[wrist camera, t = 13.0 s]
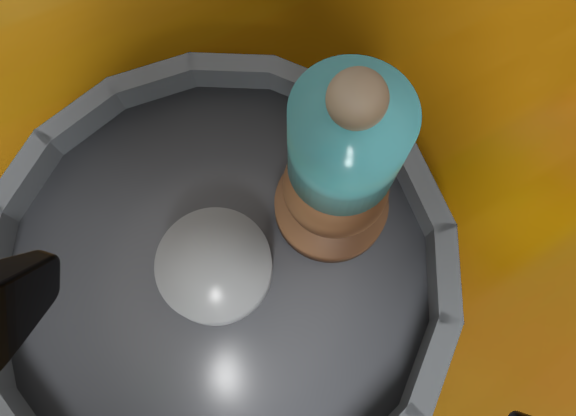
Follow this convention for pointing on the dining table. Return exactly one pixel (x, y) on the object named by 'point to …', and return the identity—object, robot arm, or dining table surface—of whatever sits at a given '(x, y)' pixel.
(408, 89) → the bead stack
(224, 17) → the dining table surface
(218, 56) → the groove tray
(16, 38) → the dining table surface
